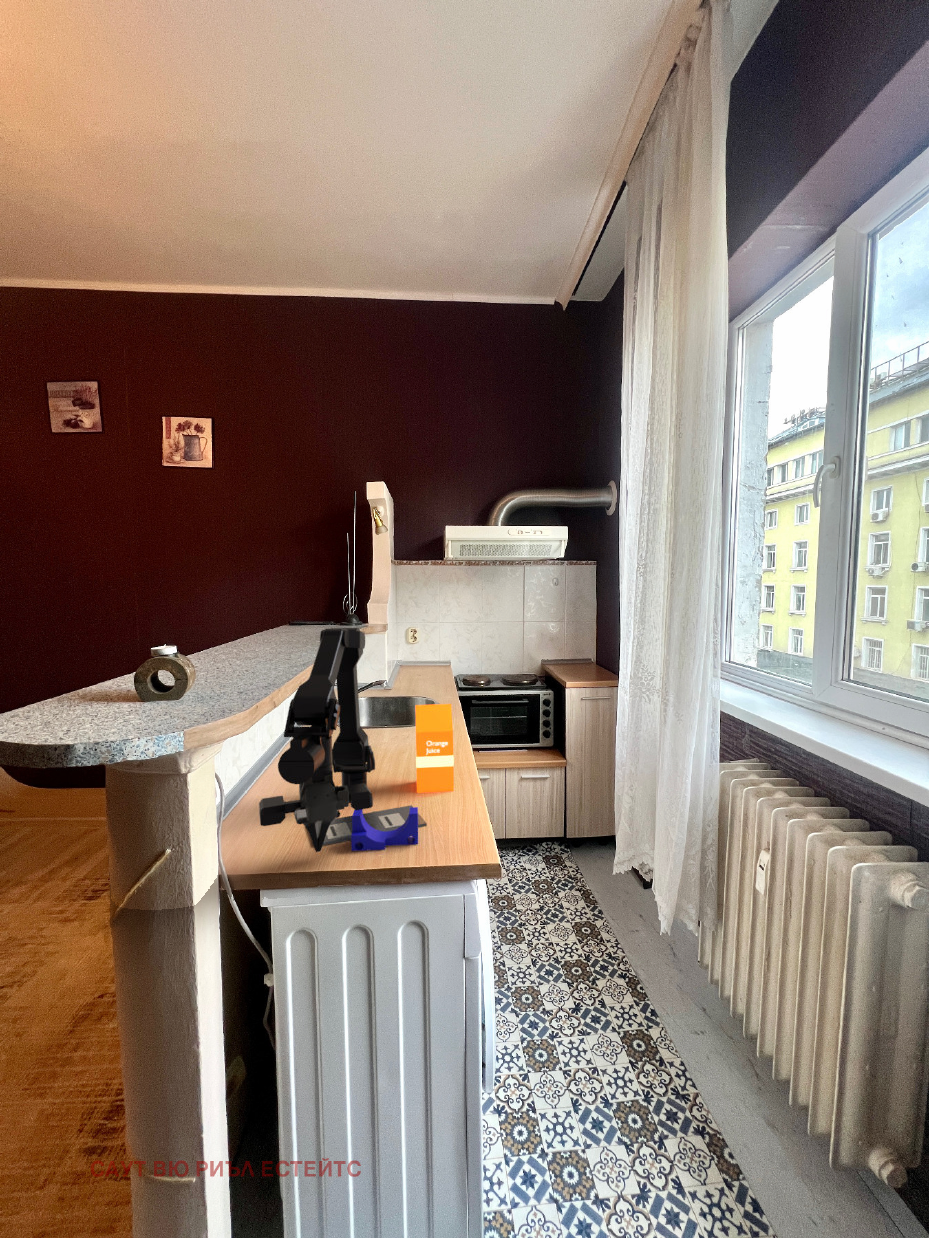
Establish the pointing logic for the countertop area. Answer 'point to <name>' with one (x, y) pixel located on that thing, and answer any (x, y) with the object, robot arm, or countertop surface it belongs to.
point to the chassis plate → (377, 820)
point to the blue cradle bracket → (383, 833)
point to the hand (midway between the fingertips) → (317, 850)
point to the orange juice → (434, 748)
